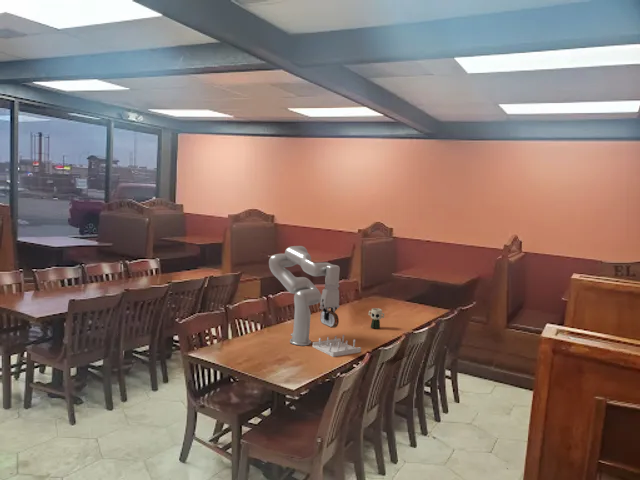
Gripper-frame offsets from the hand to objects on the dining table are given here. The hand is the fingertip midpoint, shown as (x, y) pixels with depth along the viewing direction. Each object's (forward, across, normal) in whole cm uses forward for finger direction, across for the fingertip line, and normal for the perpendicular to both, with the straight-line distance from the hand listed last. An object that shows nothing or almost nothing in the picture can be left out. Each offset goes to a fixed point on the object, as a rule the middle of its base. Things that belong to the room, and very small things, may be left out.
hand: (328, 319), depth 289 cm
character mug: (+19, -62, -31) cm, 72 cm away
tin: (+4, +1, 0) cm, 4 cm away
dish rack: (+19, -8, -2) cm, 21 cm away
